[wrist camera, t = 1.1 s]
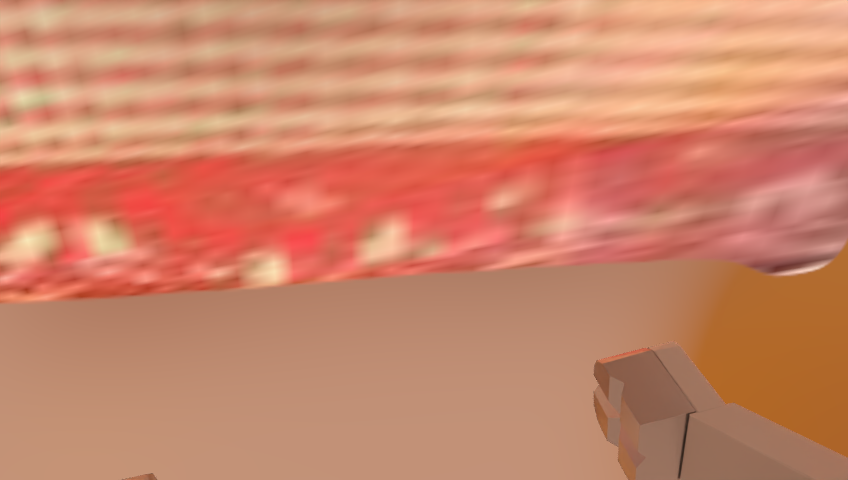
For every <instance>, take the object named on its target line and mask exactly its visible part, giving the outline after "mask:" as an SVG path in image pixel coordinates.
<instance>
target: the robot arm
mask: <svg viewBox="0 0 848 480" xmlns="http://www.w3.org/2000/svg"><path fill="white" fill-rule="evenodd" d="M594 376H595V378H596V380H597V382H598V384H599V385H598V387H597V388H596V389H595V391H594V407H595V412H596V416H597V420H598V422H599V424H600V427H601V429H602V431H603V433H604V435H605V437H606V439H607V441H609V442H610V443H612V444H614V445H616V446H617V447H618V462H619V463H620V465H621V467H622V469H623V471H624V473H625V474H626V476H627V478H628V480H848V458H847V457H845V456H843V455H841V454H838V453H836V452H834V451H832V450H830V449H828V448H826V447H824V446H822V445H820V444H817V443H816V442H814V441H812V440H809V439H807V438H805V437H803V436H801V435H799V434H797V433H795V432H793V431H791V430H789V429H787V428H785V427H783V426H780V425H778V424H776V423H774V422H772V421H770V420H768V419H766V418H764V417H762V416H760V415H758V414H756V413H754V412H751V411H749V410H747V409H745V408H743V407H741V406H739V405H737V404H735V403H731V404H725V403H724V401H723V400H722V399H721V398H720V396H719V395H718V394H717V393H716V391H715V390H714V389H713V387H712V386H711V385H710V384H709V382H708V381H707V380H706V378H705V377H704V376H703V375H702V373H701V372H700V371H699V369H698V368H697V367H696V366H695V364H694V363H693V362H692V360H691V359H690V358H689V357H688V356H687V354H686V353H685V352H684V350H683V349H682V348H681V346H680V345H679V344H678V343H676V342H674V341H671V342H668V343H663V344H660V345H656V346H652V347H648V348H642V349H639V350H635V351H631V352H627V353H623V354H620V355H616V356H612V357H608V358H604V359H601V360H597V361H596V363H595V365H594ZM122 480H157V479H156V477H155V476H154V474H153V473H151V474H145V475H140V476H136V477H132V478H127V479H122Z"/></svg>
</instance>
